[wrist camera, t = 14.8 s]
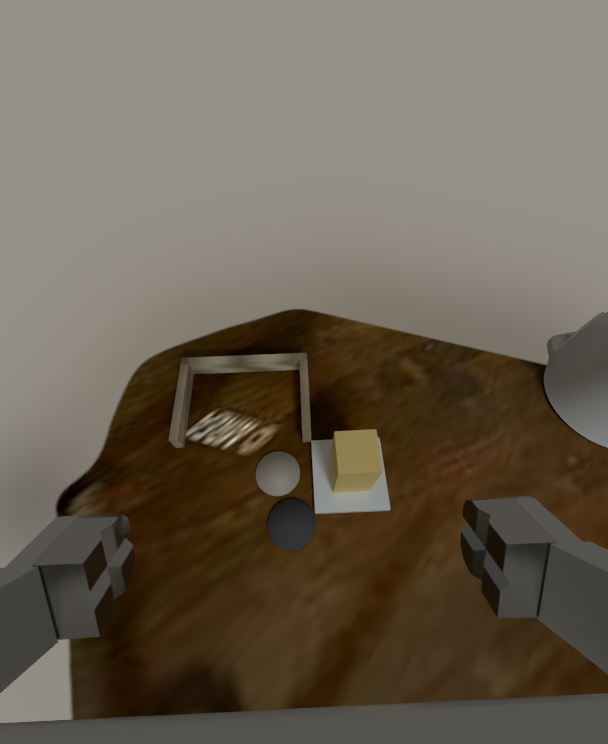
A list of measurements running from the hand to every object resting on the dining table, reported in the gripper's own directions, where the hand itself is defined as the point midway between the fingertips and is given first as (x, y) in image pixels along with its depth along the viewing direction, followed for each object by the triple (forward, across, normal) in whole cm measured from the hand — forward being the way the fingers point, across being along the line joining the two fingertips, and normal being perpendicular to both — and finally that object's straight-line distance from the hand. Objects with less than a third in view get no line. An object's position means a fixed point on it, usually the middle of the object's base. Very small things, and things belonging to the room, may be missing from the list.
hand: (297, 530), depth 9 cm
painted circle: (+29, +3, +15) cm, 33 cm away
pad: (+29, -5, +16) cm, 33 cm away
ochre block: (+28, -5, +15) cm, 32 cm away
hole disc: (+25, +1, +19) cm, 32 cm away
